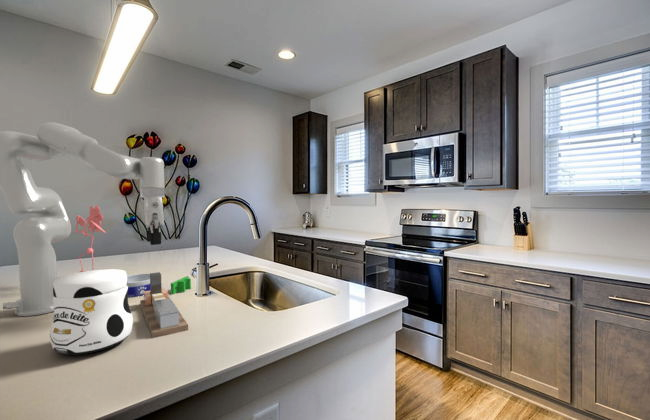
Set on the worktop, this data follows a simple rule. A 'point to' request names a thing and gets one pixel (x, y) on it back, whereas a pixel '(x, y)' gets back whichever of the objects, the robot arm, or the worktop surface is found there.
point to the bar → (155, 287)
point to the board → (153, 322)
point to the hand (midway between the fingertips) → (153, 242)
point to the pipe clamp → (181, 285)
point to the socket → (148, 296)
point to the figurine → (93, 222)
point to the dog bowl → (138, 284)
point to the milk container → (90, 311)
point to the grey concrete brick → (166, 313)
